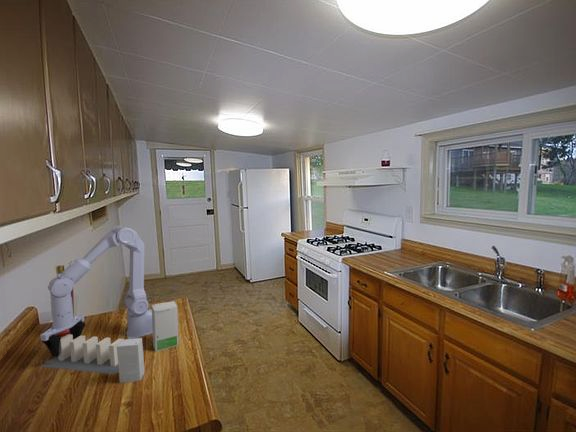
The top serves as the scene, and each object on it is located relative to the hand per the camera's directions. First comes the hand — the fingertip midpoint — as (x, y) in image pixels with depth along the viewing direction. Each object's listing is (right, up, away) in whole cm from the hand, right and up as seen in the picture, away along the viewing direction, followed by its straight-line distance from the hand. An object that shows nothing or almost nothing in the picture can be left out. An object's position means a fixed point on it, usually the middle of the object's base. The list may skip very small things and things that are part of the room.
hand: (66, 349), depth 101 cm
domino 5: (+20, -3, -3) cm, 20 cm away
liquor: (-14, -2, +18) cm, 22 cm away
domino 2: (+5, -3, -1) cm, 6 cm away
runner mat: (+10, -3, -1) cm, 10 cm away
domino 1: (0, -3, 0) cm, 3 cm away
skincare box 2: (+31, -2, +8) cm, 32 cm away
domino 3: (+10, -3, -1) cm, 10 cm away
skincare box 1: (+29, -4, -11) cm, 31 cm away
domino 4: (+15, -3, -2) cm, 15 cm away
